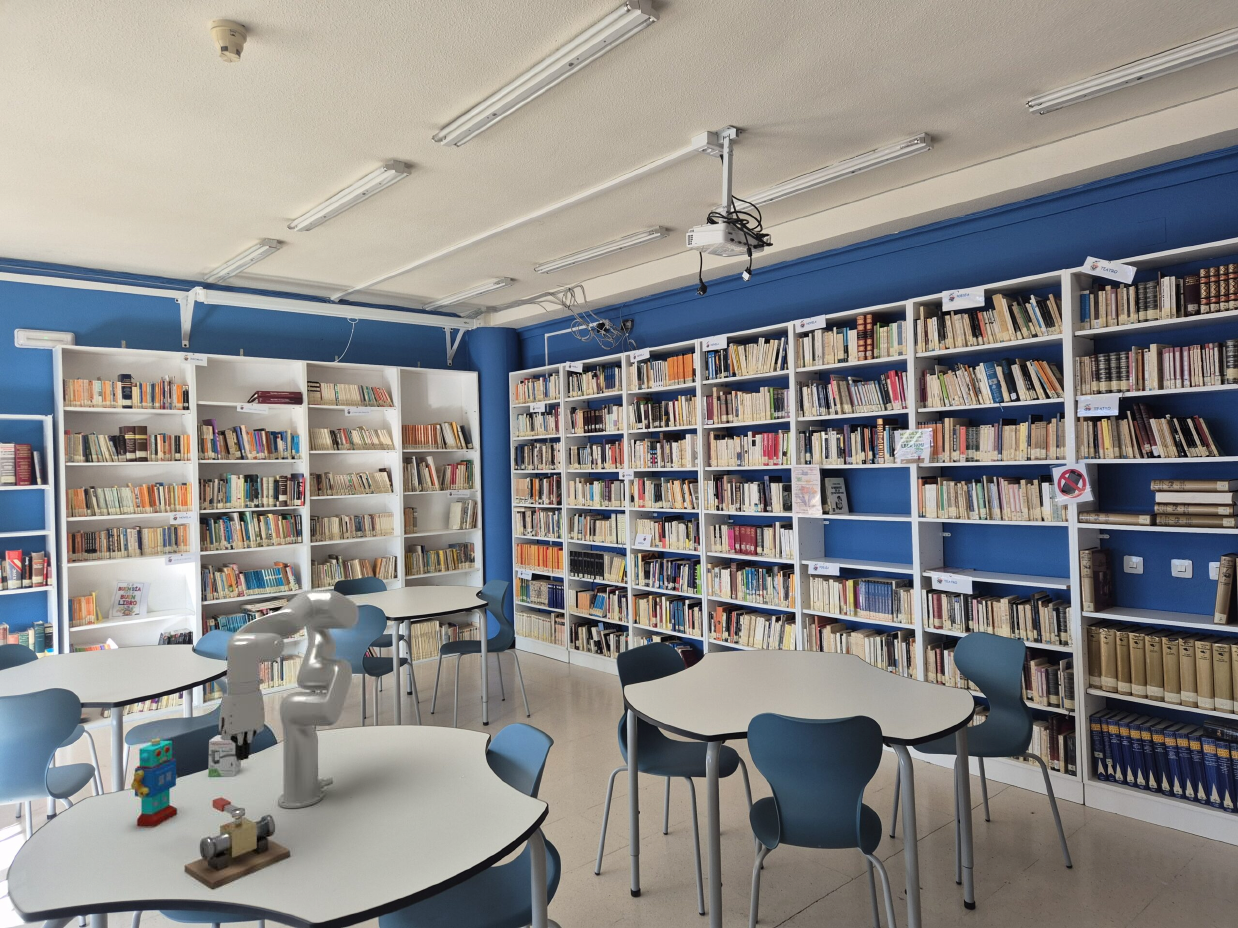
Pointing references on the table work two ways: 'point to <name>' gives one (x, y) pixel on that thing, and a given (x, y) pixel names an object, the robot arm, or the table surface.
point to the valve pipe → (237, 840)
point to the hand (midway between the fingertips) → (242, 758)
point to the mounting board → (236, 865)
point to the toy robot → (155, 782)
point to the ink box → (222, 758)
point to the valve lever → (228, 807)
